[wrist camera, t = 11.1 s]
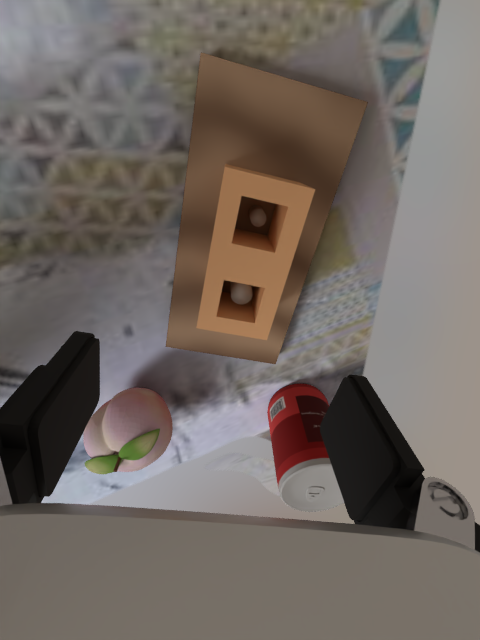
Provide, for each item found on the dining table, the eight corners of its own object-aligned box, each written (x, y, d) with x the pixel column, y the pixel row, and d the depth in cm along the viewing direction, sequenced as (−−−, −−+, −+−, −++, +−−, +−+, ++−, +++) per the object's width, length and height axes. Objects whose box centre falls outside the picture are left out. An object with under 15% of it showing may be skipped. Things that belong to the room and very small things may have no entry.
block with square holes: (225, 163, 23) (224, 166, 18) (299, 182, 23) (315, 189, 19) (201, 301, 28) (196, 328, 24) (261, 312, 29) (266, 340, 25)
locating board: (273, 355, 34) (280, 386, 29) (168, 338, 32) (158, 367, 28) (359, 105, 22) (391, 93, 18) (202, 58, 21) (195, 33, 16)
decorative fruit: (144, 430, 39) (120, 509, 31) (93, 396, 36) (49, 474, 27) (195, 395, 36) (184, 471, 28) (144, 355, 33) (114, 427, 24)
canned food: (268, 429, 40) (281, 516, 30) (263, 385, 36) (276, 469, 26) (325, 422, 40) (356, 508, 30) (326, 377, 36) (362, 460, 26)
